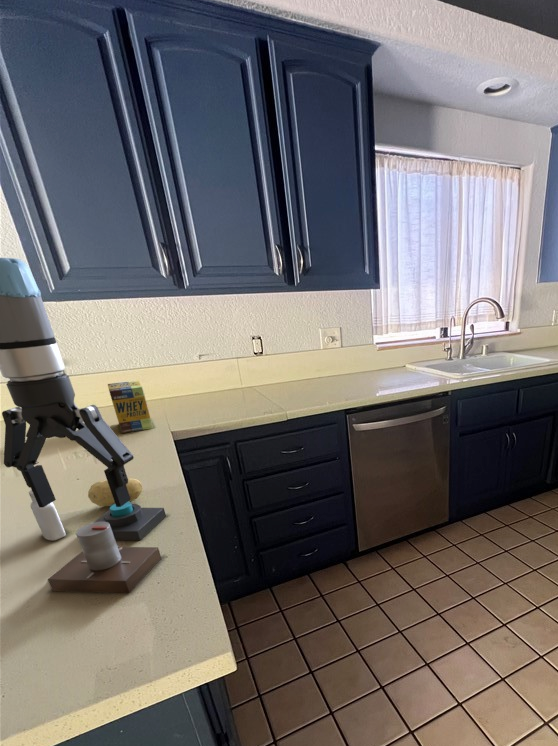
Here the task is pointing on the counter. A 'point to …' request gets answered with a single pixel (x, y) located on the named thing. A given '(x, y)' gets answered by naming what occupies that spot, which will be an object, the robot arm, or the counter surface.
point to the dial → (98, 545)
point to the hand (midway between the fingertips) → (85, 503)
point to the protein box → (130, 406)
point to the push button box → (133, 522)
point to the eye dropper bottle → (47, 520)
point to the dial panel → (106, 572)
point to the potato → (104, 497)
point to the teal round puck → (121, 510)
